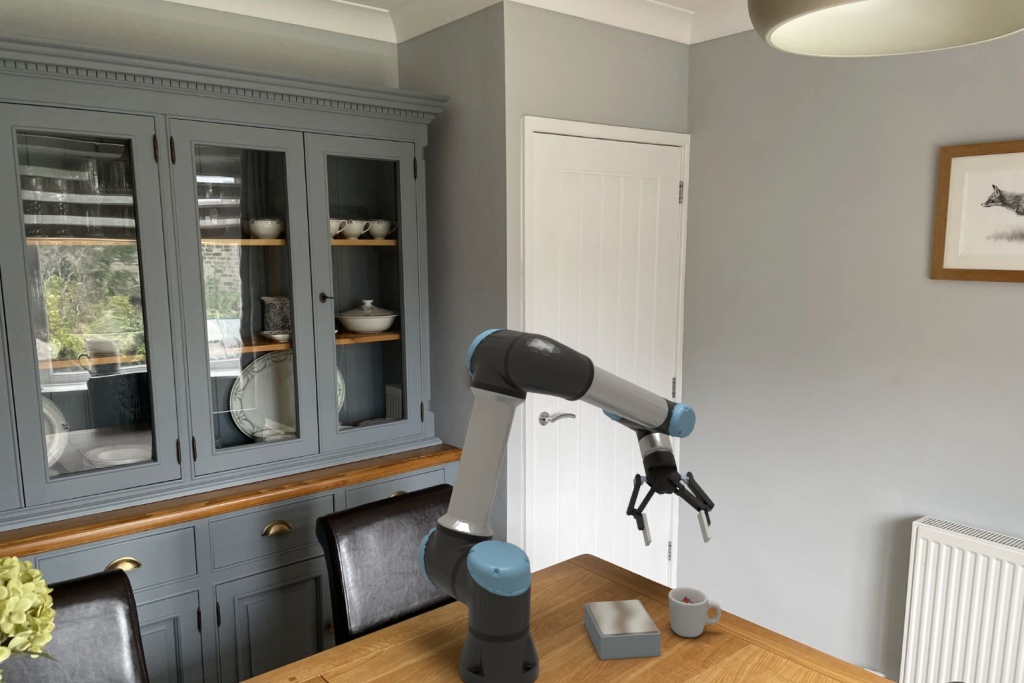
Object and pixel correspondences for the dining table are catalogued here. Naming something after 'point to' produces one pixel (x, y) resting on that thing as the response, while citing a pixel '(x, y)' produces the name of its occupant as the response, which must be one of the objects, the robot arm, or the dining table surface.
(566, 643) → the dining table surface
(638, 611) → the grey flat block
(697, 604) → the cup
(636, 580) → the dining table surface
